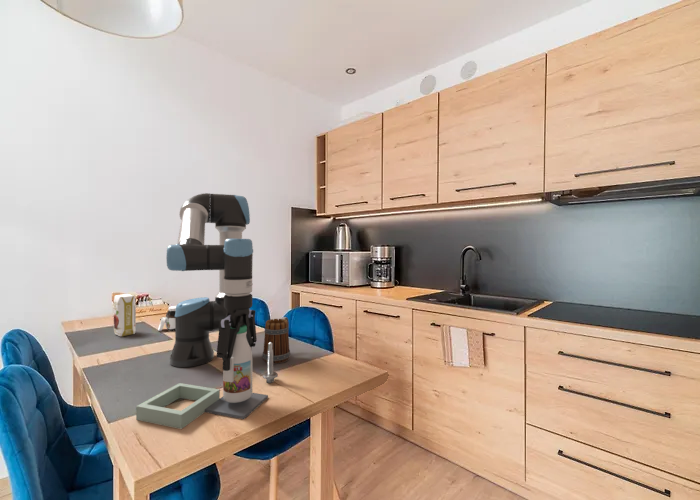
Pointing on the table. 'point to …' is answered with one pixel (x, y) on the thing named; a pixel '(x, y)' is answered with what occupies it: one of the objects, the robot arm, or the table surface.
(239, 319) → the robot arm
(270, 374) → the screw
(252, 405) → the plate
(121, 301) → the juice carton
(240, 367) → the milk bottle
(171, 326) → the spread jar
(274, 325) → the mug
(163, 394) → the collar
